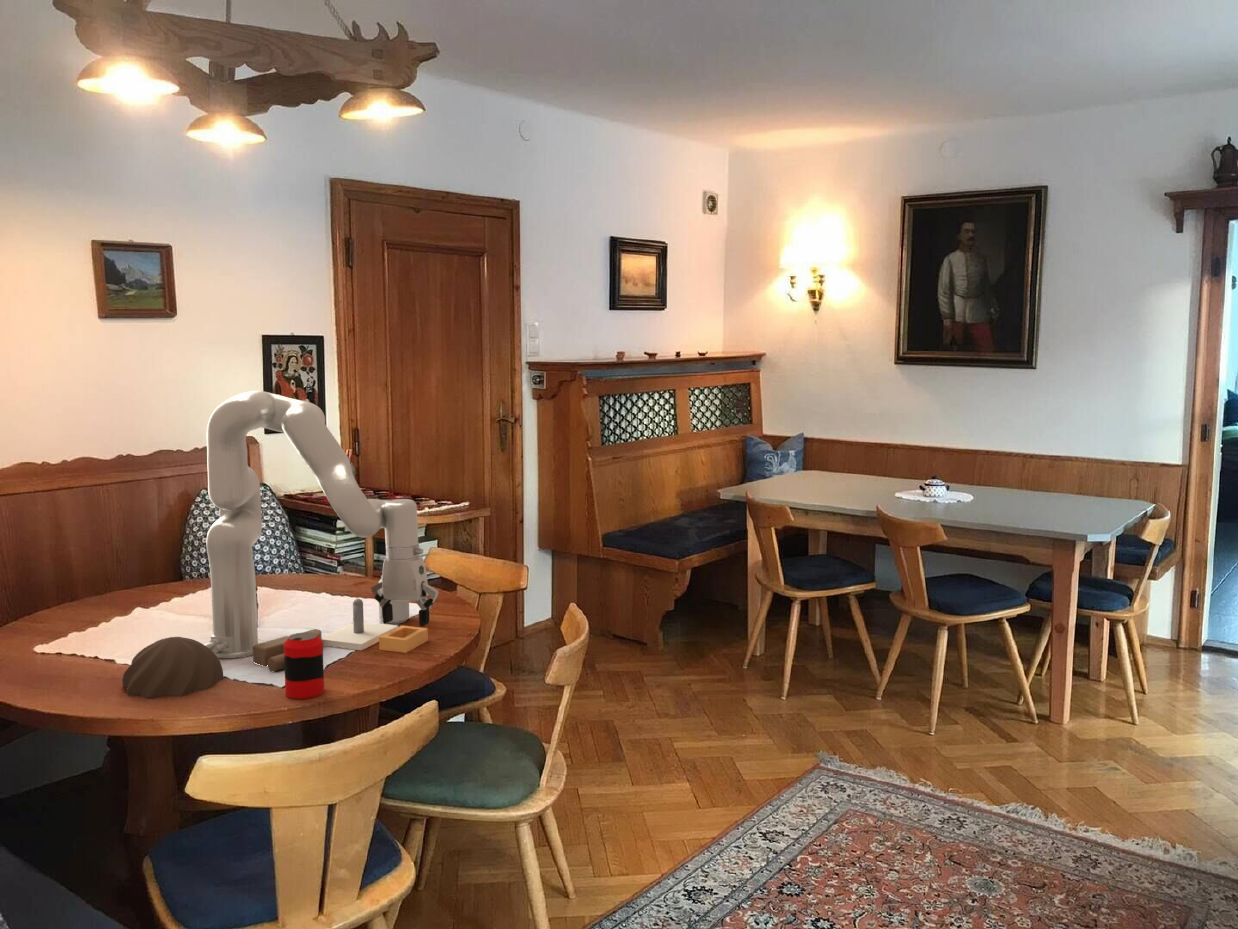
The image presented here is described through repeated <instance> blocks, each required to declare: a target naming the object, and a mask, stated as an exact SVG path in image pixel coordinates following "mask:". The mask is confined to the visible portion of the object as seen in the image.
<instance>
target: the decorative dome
mask: <svg viewBox="0 0 1238 929" xmlns="http://www.w3.org/2000/svg"><path fill="white" fill-rule="evenodd" d="M224 679H225V676H224V670H223V667H222V663H221V661H220V658H218V657H217V656H216V655H215V654H214V653H213V652H212V651H211V650H210V649H209V648H208V647H206V646H205V645H204V644H203V643H202V642H200V641H198V640H195V639H192V638H188V637H183V636H173V637H172V636H170V637H167V638H166V637H165V638H161V639H159V640H156V641H154V642H153V643H151V644H149V645H147V646H145V647H144V648H142V649H140V651H138V653H136V655H135V656H134V657H133V659H132V660H131V664H130V665H129V666H128V667H127V669H126V670H125V672H123V675H122V686H123V687H124V688H125V687H126V691H125V695H126V694H128V696H140V697H142V698H145V699H149V700H151V699H156V698H157V699H158V698H165V697H167V698H168V697H172V698H173V697H174V698H177V697H178V698H180V697H184V696H187V695H190V694H192V693H195V692H200V691H206V690H210V689H212V687H213V685H214V684H216V683H218V682H221V681H222V680H224ZM127 688H128V689H127Z"/></svg>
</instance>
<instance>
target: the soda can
mask: <svg viewBox="0 0 1238 929" xmlns="http://www.w3.org/2000/svg"><path fill="white" fill-rule="evenodd" d="M323 649H324V646H323V641H322V640H321V639H320V638H319V636H318V635H317V634H316V633H311V632H306V631H304V632H296V633H292V634H291V635H289V636H288V639H287V640H286V642H285V643H284V667H285V669H284V688H285V690H284V691H285V692H284V693H285V695H286V696H287V697H288V698H290V699H293V700H307V699H314V698H316V697H319V696H321V695H322V694H323V693H324V692H325V676H324V674H325V672H324V650H323Z"/></svg>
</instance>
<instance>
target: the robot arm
mask: <svg viewBox="0 0 1238 929" xmlns="http://www.w3.org/2000/svg"><path fill="white" fill-rule="evenodd" d="M260 428H262V429H267V430H271V431H275V432H279V433H284V434H285V436H286V437H287V439H288V440H289V442H290V443H291V445H292V446H293V447H294V448H295V450H296V452H297V453H298V455H299V456H300V458H302V460H303V461H304V462H305V464H306V465H307V467H308V468H309V469H310V471H311V473H312V474H313V475H314V477H315V478H316V480H317V483H318V485H319V487H320V489H321V491H323V494H324V496H325V497H326V499H327V501H328V503H329V504H330V506H331V508H332V509H333V510H334V512H335V513H336V515H337V516H338V518H339V519H340V521H341V522H342V523H343V525H344V526H345V527H346V529H347V530H348V531H349V532H350V533H352V535H354V536H356V537H359V538H363V539H364V538H371V537H372V536H374V535H375V534H377V532H378V531H379V530H380V529H384V537H385V538H384V540H385V555H386V557H385V558H384V560H383V565H382V572H381V573H382V575H381V576H382V582H381V583H379V582H378V583H377V584H375V585H373V586H371V591H372V594H373V596H374V599H375V600H376V601H377V602H378V606H379V605H380V606H381V607H382V617H383V621H382V622H383V623H382V624H387V623H388V622H390V621H392V620H393V609H392V604H390V602H391V601H392V600H396V601H408V602H409V603H410V602H411V603H416V604H417V605H418V607H419V608H420V609H419V611H418V619H419V620H418V621H419V623H418V624H419V627H420V628H424V627H425V626H427V625H429V622H430V608H431V607H432V605H434V603H435V602H436V600H437V597H438V595H439V591H438V590H437V589H436V588H435V587H433V586H431V585H430V584H429V583H428V574H427V570H426V564H425V562H424V561H425V560H424V559H423V557H422V556H420V555H423V554H424V549H423V548H421V547H420V544H419V543H420V542H419V523H418V505H417V503H416V501H414V500H413V499H409V498H398V499H397V498H396V499H378V498H377V499H376V498H367V496H366V495H365V494H364V492H363V491H362V489H361V488H360V486H359V484H358V482H357V480H356V478H355V476H354V473H353V470H352V466H351V461H350V458H349V457H348V455H347V453H346V451H345V450H344V449H343V448H342V447H341V445H340V443H339V441H337V439H336V438H335V436H334V435H333V433H332V432H331V431H330V429H329V428H328V427H327V425H326V416H325V414H324V412H323V410H322V409H321V408H320V407H319V406H318V405H317V404H314V403H312V402H310V401H305V400H300V399H298V398H297V399H296V398H291V397H287V396H284V395H280V394H275V393H271V392H268V391H265V390H251V391H246V392H242V393H239V394H237V395H234V396H232V397H230V398H228V399H226V400H225V401H223V402H222V403H220V404H219V405H218V406H217V407H216V408H215V409H214V410H213V412H212V413H211V415H210V417H209V419H208V423H207V426H206V451H207V452H206V456H207V458H206V459H207V460H206V462H207V463H206V465H207V491H208V492H207V493H208V497H209V500H210V502H211V503H212V505H214V506H215V507H216V508H218V509H219V510H218V512H219V518H218V519H217V520H215V521H214V522H213V523H212V525H211V526H210V527H209V530H208V531H207V535H206V542H205V543H206V544H205V545H206V552H207V558H208V565H209V573H210V588H211V589H210V590H211V591H210V592H211V612H212V626H213V627H212V628H213V629H212V631H213V634H212V635H210V640H209V641H208V642H206V643H205V644H203V645H205V646H206V647H208V648H209V649H210V650H211V651H212V652H213V653H214V654H215V655H216V656H217V657H218V659H237V658H236V657H239V658H244V656H245V657H248V656H249V657H250V656H253V645H256V644H260V643H263V642H265V641H264V640H263V639H261V638H259V636H258V635H259V634H258V614H257V613H258V612H257V610H258V609H257V591H256V589H257V588H256V587H257V586H256V573H255V571H256V568H255V563H254V556H253V546H254V545H255V544H256V543H257V541H258V540H259V538H260V536H261V534H262V526H263V525H262V524H263V522H262V500H261V499H262V498H261V494H262V493H261V486H260V485H261V484H260V479H259V477H258V475H257V473H256V471H255V470H254V469H253V468H251V467H250V466H249V465H248V464H249V463H248V446H247V440H246V439H247V435H248V433H250V432H251V431H254V430H257V429H260ZM381 588H382V592H383V594H382V593H381V592H380V589H381Z"/></svg>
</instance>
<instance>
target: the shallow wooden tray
mask: <svg viewBox="0 0 1238 929" xmlns="http://www.w3.org/2000/svg"><path fill="white" fill-rule="evenodd" d="M428 631H429V630H428V628H427V627H420V626H418V627H417V626H409V625H400V626H398V628H396V629H394V630H392V631H390V632H388V633H386V634H384V635H382V636H380V637H379V642H378V645H379V647H378V648H379V650H380V651H389V652H396V653H404V654H406V653H408V652H410V651H412V650H414V649H415V648H417V647H419V646H420V645H422V644H425V643H426V642H428V641H429V637H428V635H429V634H428V633H429V632H428Z"/></svg>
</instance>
